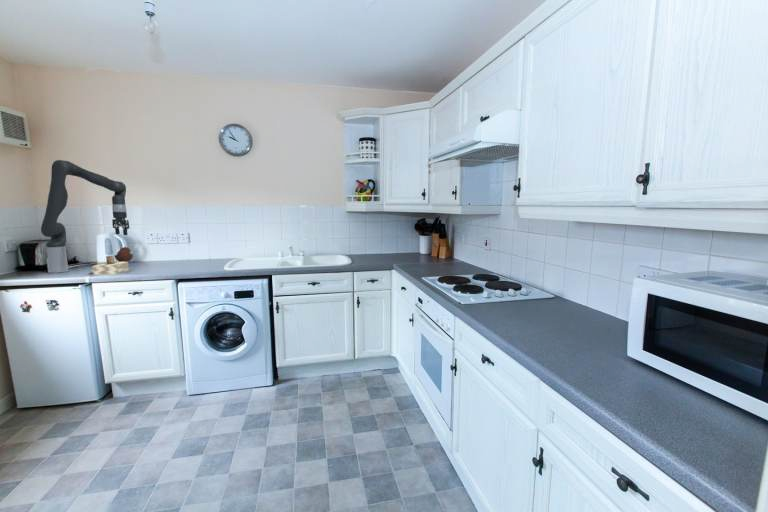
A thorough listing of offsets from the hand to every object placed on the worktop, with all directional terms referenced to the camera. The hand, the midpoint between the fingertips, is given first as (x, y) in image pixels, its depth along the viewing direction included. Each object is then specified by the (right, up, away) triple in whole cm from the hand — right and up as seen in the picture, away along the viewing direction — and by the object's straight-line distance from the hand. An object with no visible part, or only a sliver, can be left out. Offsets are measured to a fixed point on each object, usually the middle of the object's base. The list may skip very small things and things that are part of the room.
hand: (121, 234), depth 239 cm
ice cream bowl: (-7, -24, +13) cm, 28 cm away
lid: (-3, -26, -5) cm, 26 cm away
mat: (-3, -26, -5) cm, 27 cm away
